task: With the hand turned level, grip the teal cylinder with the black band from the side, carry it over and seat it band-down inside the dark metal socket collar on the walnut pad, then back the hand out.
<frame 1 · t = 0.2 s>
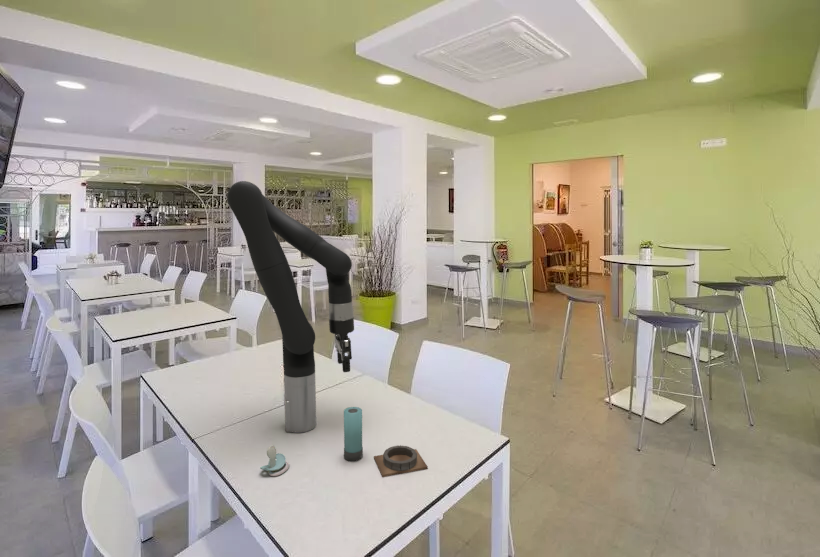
hand: (343, 367, 135), 18 cm above the table, tool pointing down, fingers open, 8 cm apart
pacifier: (276, 470, 111), on the table
teal cylinder: (353, 456, 117), on the table
socket: (400, 463, 114), on the table
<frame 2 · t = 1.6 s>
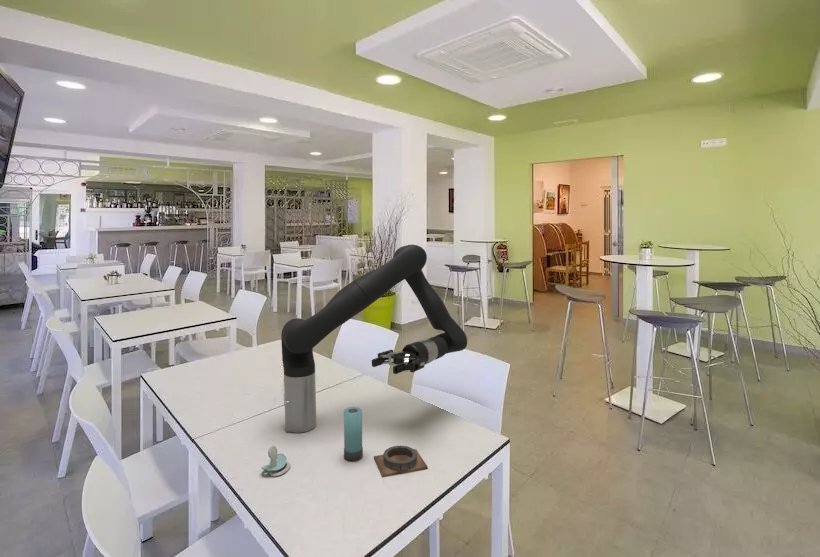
hand: (383, 366, 122), 22 cm above the table, tool horizontal, fingers open, 8 cm apart
nothing on the table moved.
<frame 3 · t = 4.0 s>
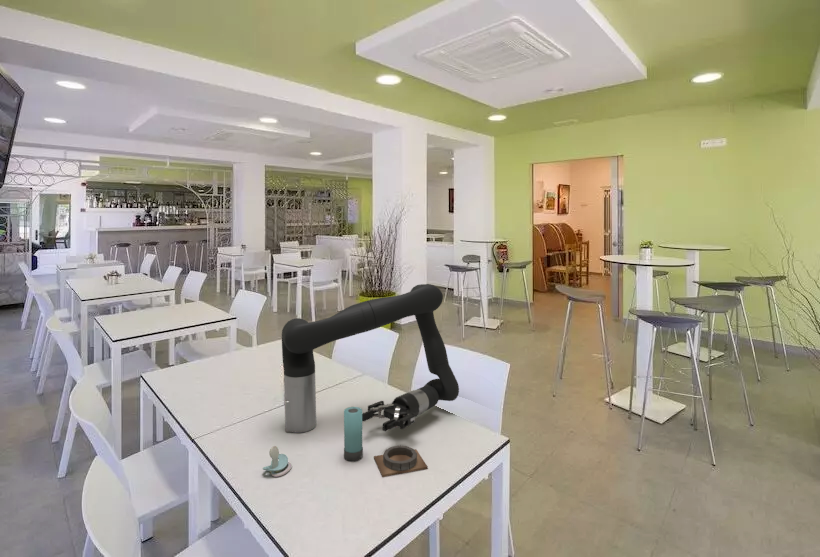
hand: (372, 422, 121), 7 cm above the table, tool horizontal, fingers open, 8 cm apart
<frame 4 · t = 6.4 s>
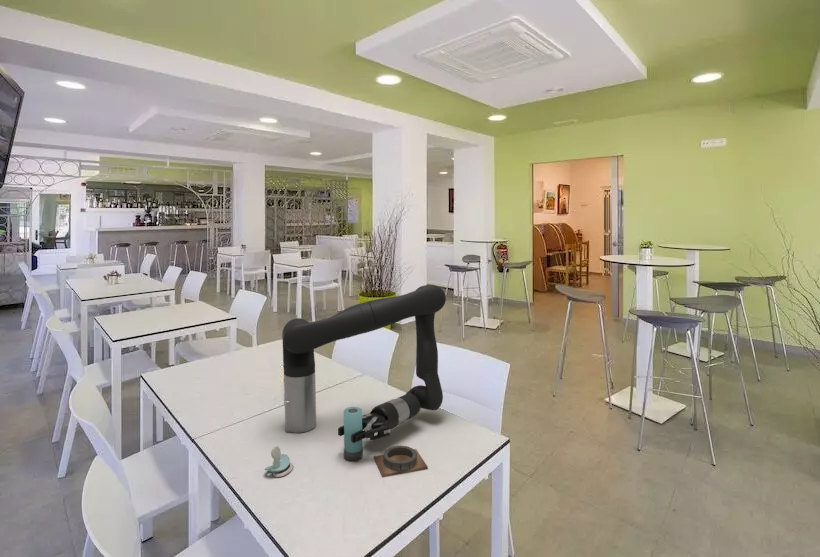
hand: (345, 435, 114), 7 cm above the table, tool horizontal, fingers closed on teal cylinder, 4 cm apart
teal cylinder: (353, 456, 117), on the table, touching gripper
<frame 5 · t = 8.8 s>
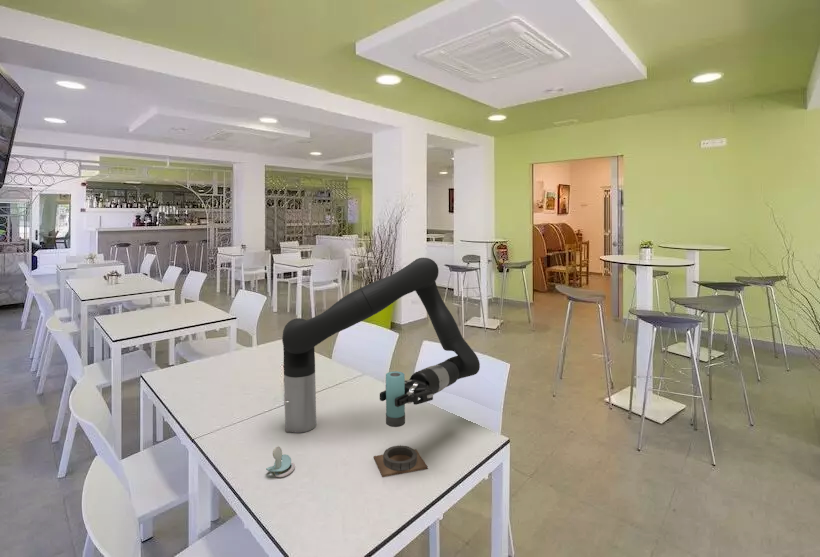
hand: (388, 400, 110), 18 cm above the table, tool horizontal, fingers closed on teal cylinder, 4 cm apart
teal cylinder: (395, 422, 113), point 11 cm above the table, touching gripper
when the fingers open (9 cm above the table, at t = 11.5 s): teal cylinder drops 1 cm, resting on socket.
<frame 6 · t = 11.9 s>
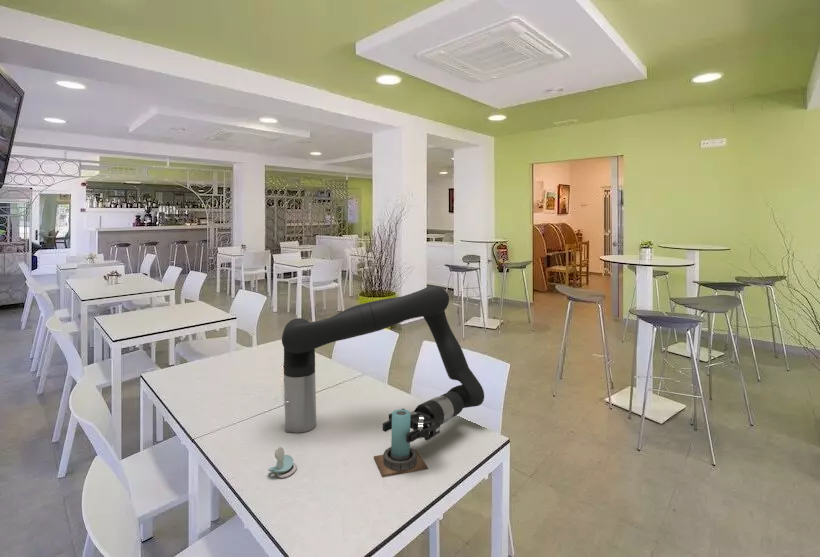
hand: (395, 433, 111), 9 cm above the table, tool horizontal, fingers open, 8 cm apart
teal cylinder: (400, 460, 114), point 1 cm above the table, touching socket
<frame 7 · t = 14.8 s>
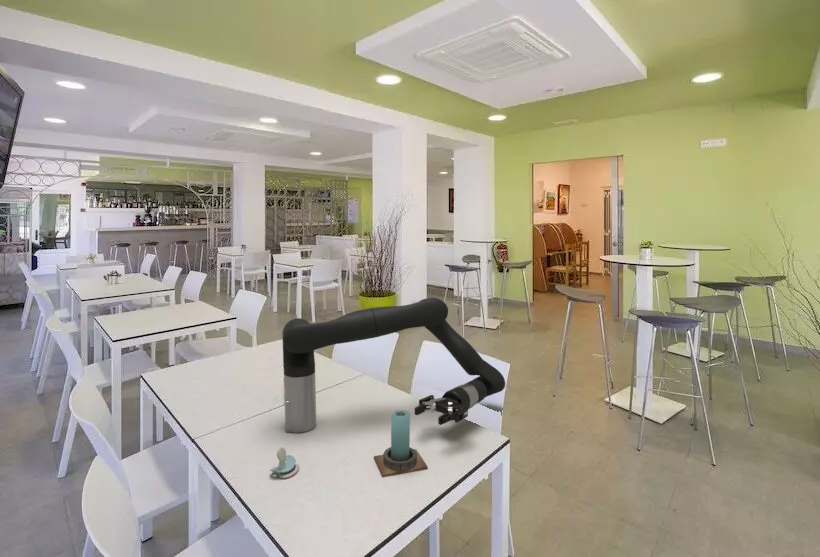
hand: (427, 416, 121), 9 cm above the table, tool horizontal, fingers open, 8 cm apart
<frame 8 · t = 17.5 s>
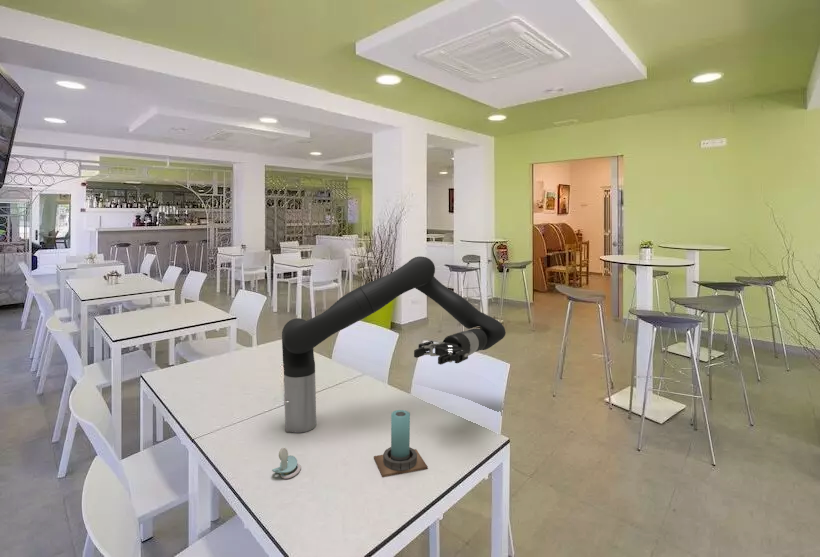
hand: (426, 357, 119), 26 cm above the table, tool horizontal, fingers open, 8 cm apart
at the end: teal cylinder 0.1 cm off-centre on the socket, point 0.6 cm above the socket's base; teal cylinder tilted 0°; the gripper is holding nothing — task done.
